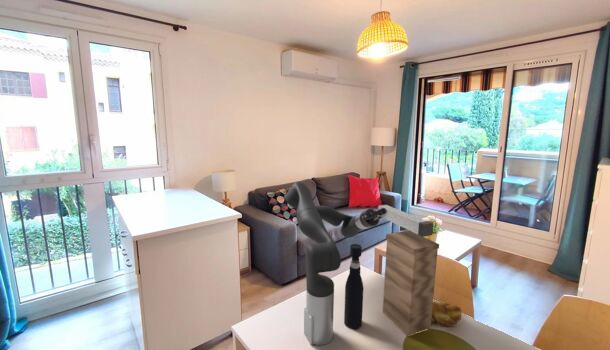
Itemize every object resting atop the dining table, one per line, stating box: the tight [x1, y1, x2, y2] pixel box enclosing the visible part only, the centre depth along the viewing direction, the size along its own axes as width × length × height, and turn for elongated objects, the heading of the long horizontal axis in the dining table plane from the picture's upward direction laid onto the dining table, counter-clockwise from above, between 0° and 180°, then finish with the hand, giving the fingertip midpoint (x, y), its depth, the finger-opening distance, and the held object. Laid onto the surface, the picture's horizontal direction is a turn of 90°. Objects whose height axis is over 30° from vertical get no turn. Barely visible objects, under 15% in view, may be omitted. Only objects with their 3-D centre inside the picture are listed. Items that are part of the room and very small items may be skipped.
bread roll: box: [431, 300, 462, 327], centre depth 106 cm, size 13×10×8 cm
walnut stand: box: [382, 230, 440, 337], centre depth 103 cm, size 11×14×32 cm
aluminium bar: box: [377, 204, 434, 238], centre depth 104 cm, size 4×24×4 cm, turn 22°
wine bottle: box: [343, 243, 364, 330], centre depth 102 cm, size 6×6×30 cm
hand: (389, 209), depth 111 cm, fingers closed on aluminium bar, 4 cm apart
